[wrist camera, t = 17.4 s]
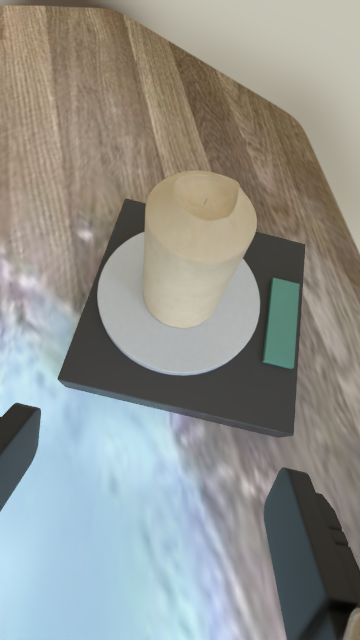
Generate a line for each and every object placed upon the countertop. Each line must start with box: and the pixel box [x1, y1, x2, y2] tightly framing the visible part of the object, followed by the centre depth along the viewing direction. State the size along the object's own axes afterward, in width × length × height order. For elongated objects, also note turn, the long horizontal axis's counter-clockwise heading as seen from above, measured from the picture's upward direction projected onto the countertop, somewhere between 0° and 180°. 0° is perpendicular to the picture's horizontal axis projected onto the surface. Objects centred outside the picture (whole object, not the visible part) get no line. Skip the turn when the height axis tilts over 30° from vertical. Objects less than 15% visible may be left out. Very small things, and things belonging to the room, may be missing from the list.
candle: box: [143, 171, 257, 328], centre depth 19 cm, size 6×6×10 cm
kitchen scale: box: [58, 199, 305, 437], centre depth 25 cm, size 16×16×3 cm
